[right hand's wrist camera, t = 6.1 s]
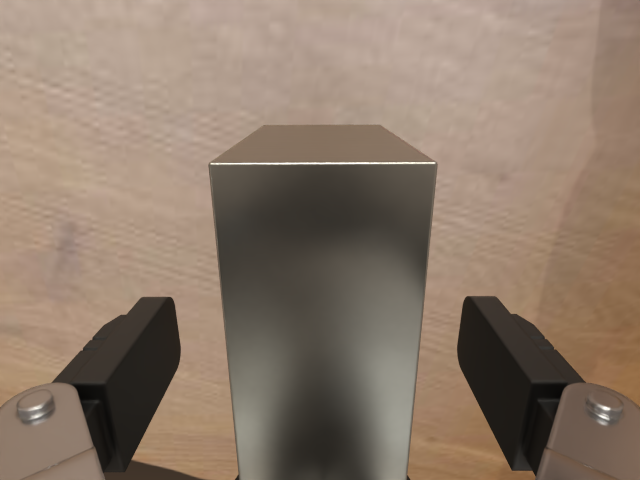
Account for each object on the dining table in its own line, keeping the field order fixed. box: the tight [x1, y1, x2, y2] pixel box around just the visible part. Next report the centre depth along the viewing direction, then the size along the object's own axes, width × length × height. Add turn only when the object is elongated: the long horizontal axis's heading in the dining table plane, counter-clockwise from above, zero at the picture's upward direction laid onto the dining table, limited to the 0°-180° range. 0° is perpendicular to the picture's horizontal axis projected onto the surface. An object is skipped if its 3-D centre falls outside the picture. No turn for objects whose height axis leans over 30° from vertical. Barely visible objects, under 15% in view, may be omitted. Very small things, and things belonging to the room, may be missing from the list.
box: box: [209, 125, 437, 480], centre depth 21 cm, size 24×6×11 cm, turn 0°
